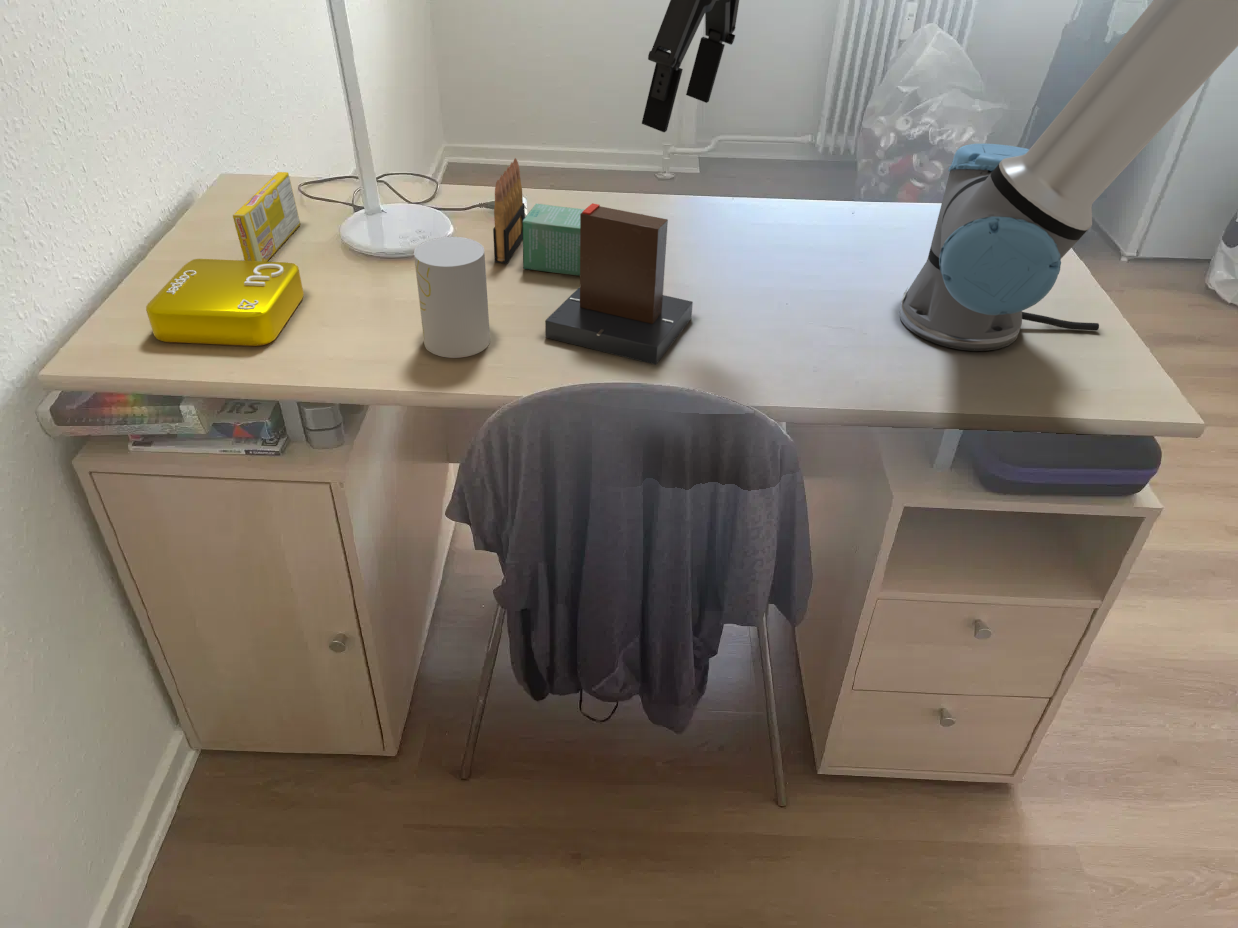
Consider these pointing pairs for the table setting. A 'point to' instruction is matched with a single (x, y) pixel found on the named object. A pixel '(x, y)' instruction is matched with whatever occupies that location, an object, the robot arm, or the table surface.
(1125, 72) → the robot arm
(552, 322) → the dark grey square slab
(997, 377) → the table surface
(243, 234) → the candy box
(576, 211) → the box
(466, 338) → the cup
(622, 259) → the brown red-tipped block
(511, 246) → the ammunition clip
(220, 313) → the element tile
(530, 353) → the table surface
